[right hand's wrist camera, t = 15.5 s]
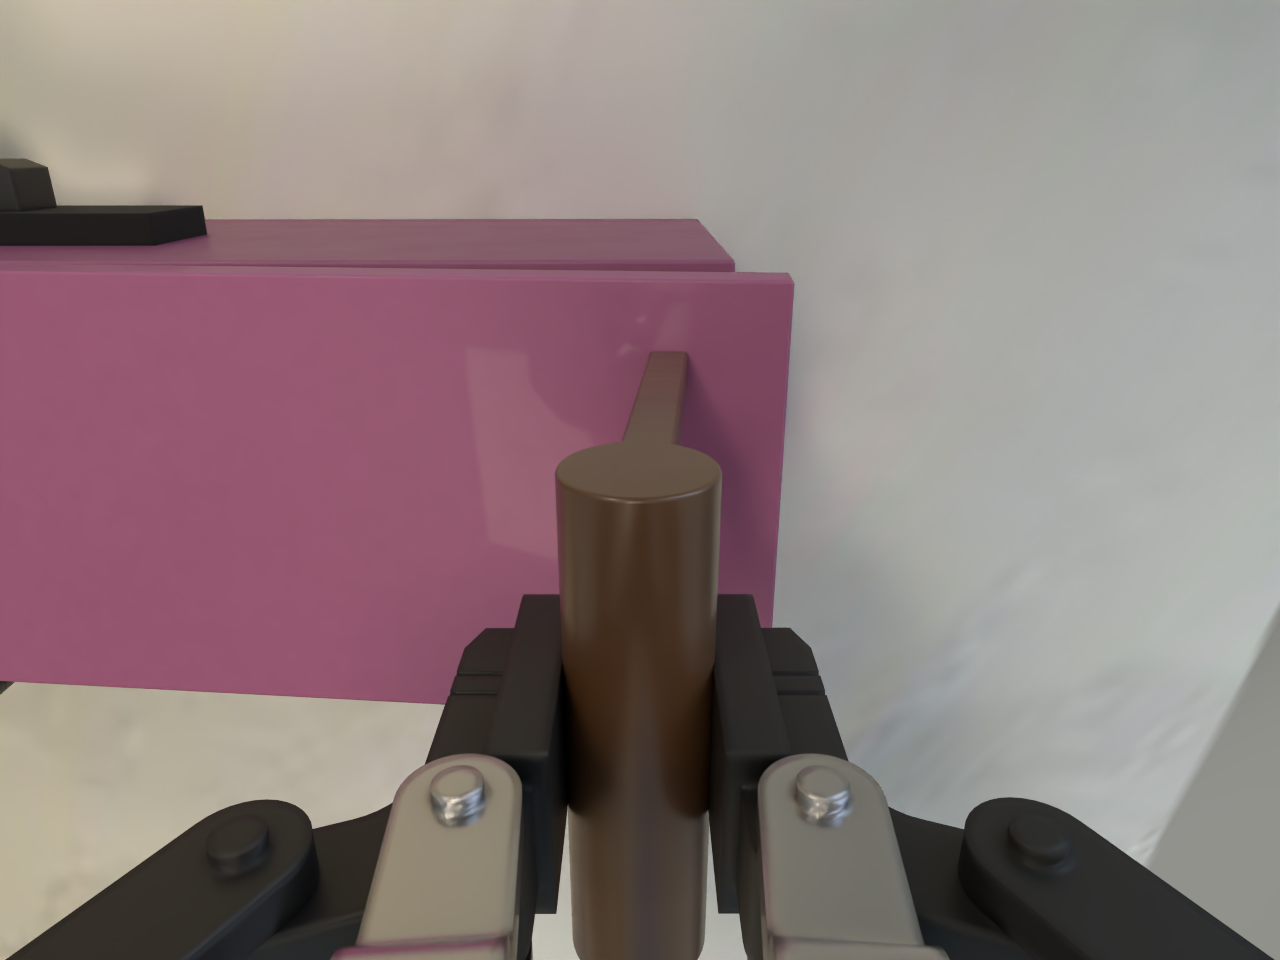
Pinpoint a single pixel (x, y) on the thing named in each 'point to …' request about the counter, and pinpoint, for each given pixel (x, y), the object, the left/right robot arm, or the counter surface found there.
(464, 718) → the right robot arm
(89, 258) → the chest
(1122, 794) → the counter surface
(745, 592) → the lid
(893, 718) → the counter surface
